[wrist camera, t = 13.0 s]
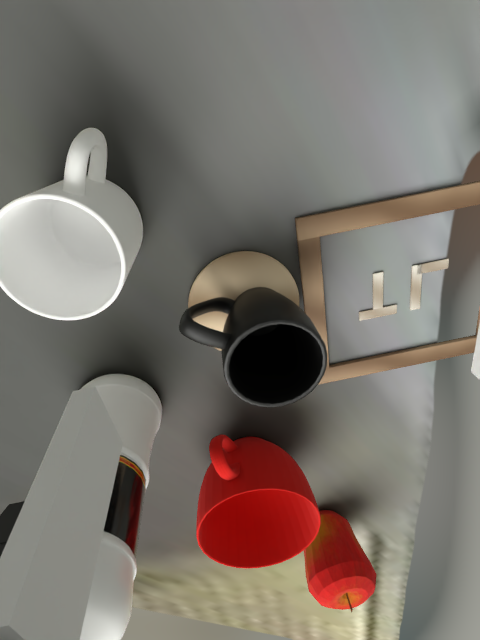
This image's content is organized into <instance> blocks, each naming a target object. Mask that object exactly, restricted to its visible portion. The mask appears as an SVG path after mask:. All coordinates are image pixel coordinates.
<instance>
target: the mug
mask: <svg viewBox="0 0 480 640" xmlns="http://www.w3.org/2000/svg"><path fill="white" fill-rule="evenodd" d="M214 311H218V312H223V313H226V314H228V316H227V319H226V321H225V324H224V329H223V332H221V331H217V330H214V329H211V328H208V327H206V326H203V325H201V324H199V323H197V322H195V321H194V320H193V318H195V317H198V316H200V315H202V314H205V313H209V312H214ZM179 330H180V332H181V333H182V334H183V335H184V336H186V337H187V338H189V339H191V340H193V341H195V342H198V343H201V344H204V345H207V346H211V347H214V348H218V349H221V350H222V360H223V369H224V377H225V379H226V382H227V384H228V386H229V387H230V388H231V390H232V391H233V392H234V394H236V395H237V396H238V397H239V398H240V399H242V400H244V401H246V402H248V403H250V404H253V405H257V406H261V407H278V406H284V405H287V404H291V403H294V402H296V401H298V400H300V399H302V398H304V397H305V396H306V395H308V394H309V393H310V392H312V391H313V389H314V388H315V387H316V386H317V385H318V384H319V382H320V381H321V379H322V377H323V376H324V373H325V370H326V367H327V350H326V345H325V343H324V341H323V339H322V338H321V336H320V334H319V332H318V331H317V329H316V327H315V326H314V324H313V322H312V321H311V319H310V318H309V317H308V316H307V314H306V313H305V312H304V311H303V310H302V309H301V308H300V307H299V306H298V305H297V304H296V303H294V302H293V301H291V300H290V299H288V298H287V297H285V296H284V295H282V294H280V293H278V292H276V291H274V290H272V289H270V288H266V287H255V288H251V289H248V290H246V291H245V292H243V293H242V294H240V295H239V296H238V297H237V298H236V300H233V299H230V298H226V297H217V298H213V299H210V300H206V301H203V302H200V303H197V304H195V305H193V306H191V307H189V308H188V309H187V310H186V311H185V312H184V314H183V315H182V318H181V320H180V325H179Z"/></svg>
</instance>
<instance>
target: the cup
mask: <svg viewBox="0 0 480 640" xmlns="http://www.w3.org/2000/svg"><path fill="white" fill-rule="evenodd" d="M90 152H91V155H90ZM89 155H90V164H89V170H88V175H87V176H86V174H87V164H88V159H89ZM106 168H107V143H106V140H105V137H104V135H103V134H102V132H101V131H100V130H98V129H96V128H87V129H84V130H82V131H81V132H80V133H79V134H78V135H77V136H76V137H75V139H74V140H73V142H72V144H71V146H70V148H69V151H68V155H67V159H66V165H65V172H64V180H62V181H59V182H57V183H54V184H52V185H49V186H47V187H44V188H42V189H40V190H37V191H35V192H32V193H30V194H27V195H25V196H22V197H20V198H18V199H15V200H13V201H12V202H10V203H8V204H7V205H5V206H4V207H3V208H2V209H1V210H0V286H1V288H2V289H3V290H4V291H5V292H6V293H7V294H8V295H9V296H10V297H11V298H12V299H13V300H14V301H16V302H17V303H18V304H20V305H21V306H23V307H24V308H26V309H28V310H30V311H32V312H34V313H36V314H38V315H41V316H44V317H48V318H52V319H58V320H78V319H84V318H87V317H91V316H93V315H96V314H98V313H100V312H101V311H103V310H104V309H106V308H107V307H108V306H109V305H110V304H112V303H113V301H114V300H115V299H116V298H117V296H118V295H119V293H120V291H121V289H122V287H123V285H124V282H125V280H126V278H127V276H128V274H129V272H130V269H131V267H132V265H133V263H134V261H135V258H136V256H137V254H138V252H139V249H140V247H141V243H142V239H143V224H142V219H141V215H140V212H139V210H138V208H137V206H136V204H135V203H134V201H133V200H132V198H131V197H130V196H129V195H128V194H127V193H126V192H125V191H124V190H123V189H122V188H120V187H119V186H117V185H116V184H114V183H112V182H111V181H108V180H106Z"/></svg>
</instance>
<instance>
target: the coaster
mask: <svg viewBox="0 0 480 640" xmlns="http://www.w3.org/2000/svg"><path fill="white" fill-rule="evenodd" d="M255 287H266V288H270V289H272V290H274V291H276V292H278V293H280V294H282V295H284V296H285V297H287V298H288V299H290V300H291V301H293V302H294V303H296V304H297V305H298V306H299V293H298V288H297V285H296V283H295V281H294V279H293V277H292V275H291V274H290V272H289V271H288V270H287V269H286V268H285V266H284V265H283V264H281V263H280V262H279V261H277V260H276V259H274V258H272V257H271V256H268V255H266V254H263V253H259V252H253V251H239V252H233V253H229V254H226V255H223V256H221V257H219V258H217V259H215V260H213V261H212V262H211V263H209V264H208V265H207V266H206V267H205V268H204V269H202V270H201V272H200V273H199V274H198V276H197V277H196V279H195V280H194V282H193V285H192V287H191V290H190V294H189V301H188V308H189V307H191V306H193V305H195V304H197V303H200V302H203V301H206V300H210V299H213V298H217V297H226V298H230V299H233V300H236V298H237V297H238V296H239V295H240V294H242V293H243V292H245V291H246V290H248V289H251V288H255ZM227 316H228V314H226V313H223V312H218V311H214V312H209V313H205V314H202V315H200V316H198V317H195V318H193V320H194V321H195V322H197V323H199V324H201V325H203V326H206V327H208V328H211V329H214V330H217V331H221V332H223V329H224V324H225V321H226V319H227ZM216 349H218V348H216ZM218 350H220V351H222V350H221V349H218Z"/></svg>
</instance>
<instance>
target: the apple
mask: <svg viewBox="0 0 480 640" xmlns="http://www.w3.org/2000/svg"><path fill="white" fill-rule="evenodd" d="M319 512H320V519H321V524H320V528H319V532H318V534H317V535H316V537H315V539H314V540H313V541H312V543H311V544H310V545H309V546H308V547H307V548H306V549H304V556H305V569H306V578H307V584H308V589H309V592H310V593H311V594H312V595H313V596H314V598H315V599H316V600H317V601H318V602H319V603H320V604H321V606H324V607H327V608H333V609H342V610H343V609H351V613H352V610H353V609H352V608H354V607H357V606H359V605H360V604H362V603H364V602H365V601H366V600H367V599H368V598H369V597H370V596H371V595H372V594H373V593H374V590H375V584H376V573H375V571H374V569H373V567H372V565H371V563H370V561H369V559H368V558H367V556H366V555H365V553H364V551H363V549H362V548H361V546H360V544H359V543H358V541H357V539H356V537H355V535H354V533H353V531H352V528H351V526H350V524H349V522H348V520H347V519H345V518H344V517H342V516H341V515H339V514H337V513H336V512H334V511H330V510H321V511H319Z"/></svg>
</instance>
